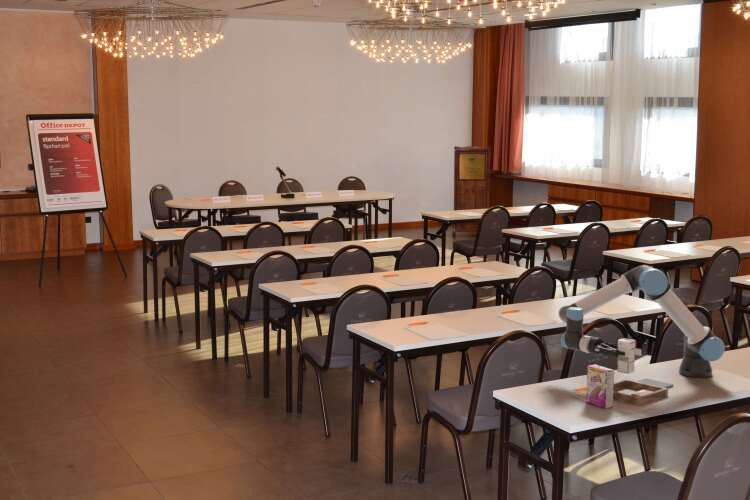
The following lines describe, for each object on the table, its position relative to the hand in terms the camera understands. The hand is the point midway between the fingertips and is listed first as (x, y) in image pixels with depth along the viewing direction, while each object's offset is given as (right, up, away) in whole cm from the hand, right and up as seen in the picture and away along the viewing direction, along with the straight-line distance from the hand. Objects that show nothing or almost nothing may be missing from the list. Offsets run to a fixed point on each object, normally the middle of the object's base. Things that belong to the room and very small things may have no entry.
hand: (636, 353), depth 398 cm
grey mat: (+13, -17, +20) cm, 29 cm away
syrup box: (-3, -9, +5) cm, 11 cm away
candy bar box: (-19, -21, -10) cm, 30 cm away
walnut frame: (-1, -19, +4) cm, 20 cm away
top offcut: (+2, -18, 0) cm, 18 cm away
